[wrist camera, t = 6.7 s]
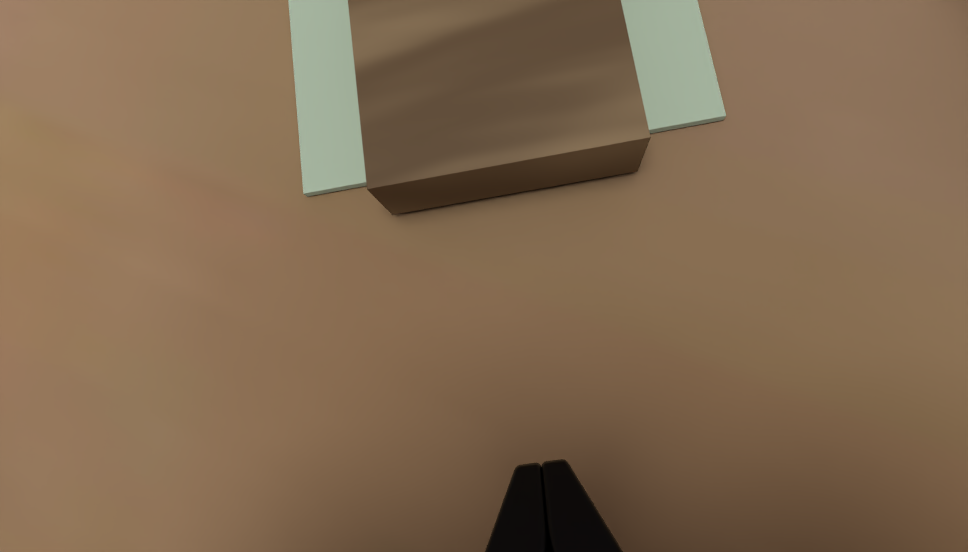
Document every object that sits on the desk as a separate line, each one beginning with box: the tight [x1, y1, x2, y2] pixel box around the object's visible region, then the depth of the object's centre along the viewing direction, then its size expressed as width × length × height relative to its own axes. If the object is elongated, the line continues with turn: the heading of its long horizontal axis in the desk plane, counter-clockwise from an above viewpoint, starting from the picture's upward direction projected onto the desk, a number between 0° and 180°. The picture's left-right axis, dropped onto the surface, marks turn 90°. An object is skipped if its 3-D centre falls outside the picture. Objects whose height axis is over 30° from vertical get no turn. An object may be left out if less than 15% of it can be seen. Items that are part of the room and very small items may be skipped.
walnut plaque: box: [348, 0, 650, 215], centre depth 17 cm, size 2×8×9 cm
